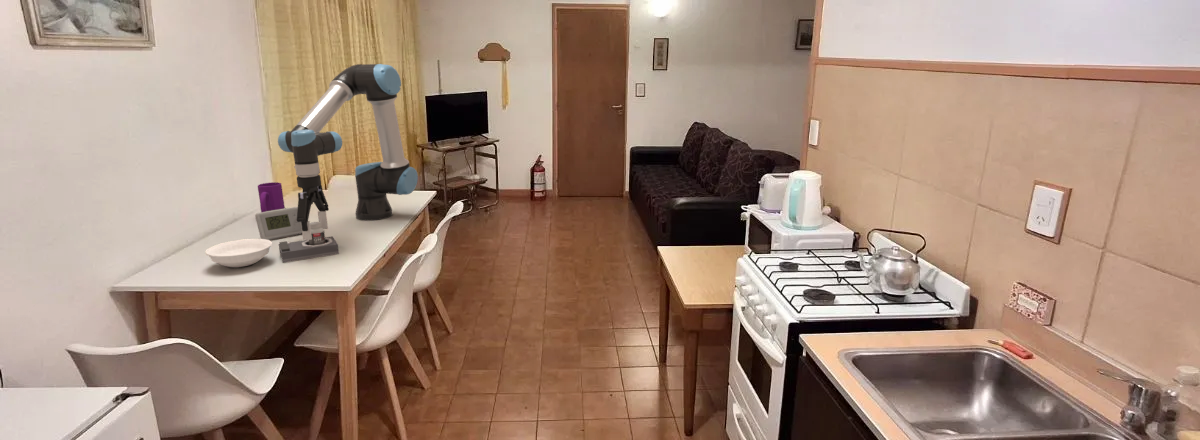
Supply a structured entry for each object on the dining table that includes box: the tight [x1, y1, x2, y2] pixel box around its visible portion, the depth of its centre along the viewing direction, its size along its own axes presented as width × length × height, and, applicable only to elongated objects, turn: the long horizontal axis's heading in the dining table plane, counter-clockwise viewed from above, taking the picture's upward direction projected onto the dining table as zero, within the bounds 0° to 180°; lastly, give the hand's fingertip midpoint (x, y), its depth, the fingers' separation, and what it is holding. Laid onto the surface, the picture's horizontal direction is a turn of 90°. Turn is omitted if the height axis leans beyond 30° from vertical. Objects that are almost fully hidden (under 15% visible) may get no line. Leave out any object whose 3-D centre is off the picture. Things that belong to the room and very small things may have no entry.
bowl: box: [204, 238, 273, 268], centre depth 215 cm, size 20×20×6 cm
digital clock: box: [254, 206, 302, 241], centre depth 247 cm, size 16×9×11 cm, turn 121°
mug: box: [257, 182, 286, 213], centre depth 271 cm, size 9×16×15 cm, turn 8°
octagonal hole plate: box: [278, 236, 340, 263], centre depth 226 cm, size 18×12×4 cm, turn 120°
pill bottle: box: [309, 221, 326, 246], centre depth 226 cm, size 5×5×10 cm
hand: (316, 234), depth 226 cm, fingers open, 13 cm apart
